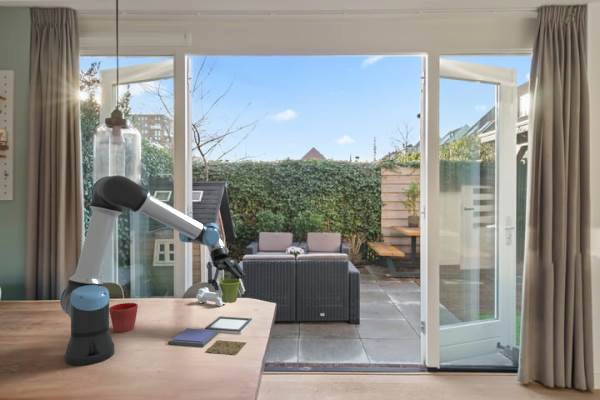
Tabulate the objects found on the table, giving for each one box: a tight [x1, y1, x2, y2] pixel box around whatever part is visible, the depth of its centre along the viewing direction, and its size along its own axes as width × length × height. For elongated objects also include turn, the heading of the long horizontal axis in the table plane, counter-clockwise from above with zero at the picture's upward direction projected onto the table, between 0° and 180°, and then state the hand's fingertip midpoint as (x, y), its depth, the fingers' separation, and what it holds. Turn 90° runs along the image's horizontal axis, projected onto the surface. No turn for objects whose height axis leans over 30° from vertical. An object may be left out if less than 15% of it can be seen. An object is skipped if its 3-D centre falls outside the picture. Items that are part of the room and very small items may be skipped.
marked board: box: [204, 316, 254, 335], centre depth 161 cm, size 16×16×1 cm
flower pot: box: [109, 302, 139, 333], centre depth 157 cm, size 11×11×10 cm
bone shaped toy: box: [195, 287, 227, 307], centre depth 194 cm, size 15×9×8 cm, turn 63°
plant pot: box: [218, 278, 241, 304], centre depth 161 cm, size 9×9×9 cm
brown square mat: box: [204, 339, 247, 356], centre depth 138 cm, size 12×12×1 cm
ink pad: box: [168, 327, 220, 348], centre depth 147 cm, size 14×14×2 cm
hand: (232, 294), depth 158 cm, fingers closed on plant pot, 9 cm apart
